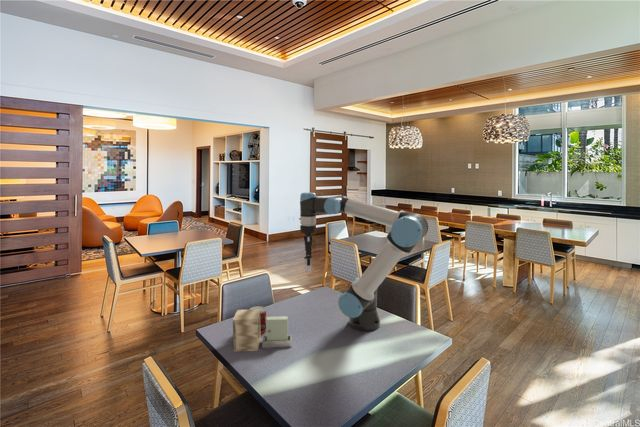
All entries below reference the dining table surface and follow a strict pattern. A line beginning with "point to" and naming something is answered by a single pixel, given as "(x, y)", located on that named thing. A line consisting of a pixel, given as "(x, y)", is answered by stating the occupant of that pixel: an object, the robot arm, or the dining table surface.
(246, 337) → the open wooden box
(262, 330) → the canned food
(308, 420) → the dining table surface
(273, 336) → the pale green rectangular block
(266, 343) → the grey rectangular frame
